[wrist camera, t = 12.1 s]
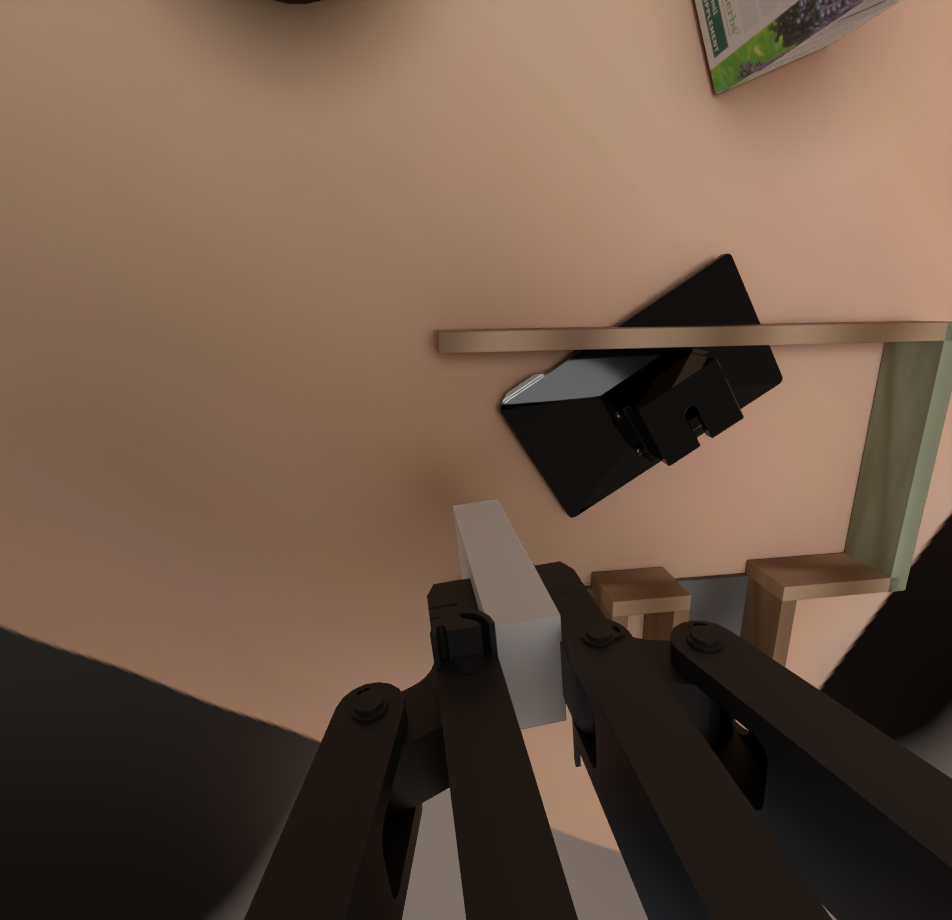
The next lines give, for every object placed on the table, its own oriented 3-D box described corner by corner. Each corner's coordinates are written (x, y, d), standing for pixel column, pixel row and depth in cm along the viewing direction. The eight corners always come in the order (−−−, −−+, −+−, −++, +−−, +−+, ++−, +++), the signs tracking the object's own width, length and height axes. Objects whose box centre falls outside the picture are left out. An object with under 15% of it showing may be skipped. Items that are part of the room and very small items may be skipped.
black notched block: (568, 516, 27) (600, 561, 22) (492, 400, 24) (512, 426, 20) (780, 379, 26) (855, 398, 21) (723, 245, 23) (796, 237, 19)
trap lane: (446, 676, 29) (451, 716, 26) (434, 330, 24) (438, 332, 21) (842, 635, 32) (886, 668, 29) (906, 321, 27) (967, 322, 24)
